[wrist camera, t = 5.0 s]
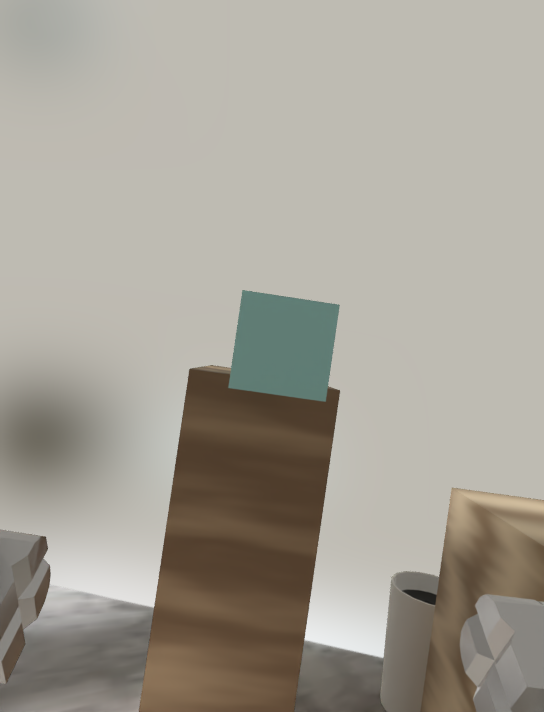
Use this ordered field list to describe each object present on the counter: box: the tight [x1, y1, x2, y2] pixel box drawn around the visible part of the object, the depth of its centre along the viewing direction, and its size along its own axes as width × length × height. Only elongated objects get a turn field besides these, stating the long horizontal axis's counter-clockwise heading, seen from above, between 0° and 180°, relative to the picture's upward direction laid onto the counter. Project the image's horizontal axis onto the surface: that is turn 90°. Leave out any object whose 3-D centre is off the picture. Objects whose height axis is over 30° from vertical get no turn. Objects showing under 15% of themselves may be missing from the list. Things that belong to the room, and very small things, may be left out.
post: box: [139, 365, 340, 712], centre depth 33 cm, size 15×8×26 cm, turn 3°
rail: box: [228, 290, 339, 402], centre depth 28 cm, size 26×3×3 cm, turn 3°
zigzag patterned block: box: [420, 488, 544, 712], centre depth 29 cm, size 12×7×20 cm, turn 3°
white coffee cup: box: [380, 571, 439, 712], centre depth 42 cm, size 7×7×10 cm
